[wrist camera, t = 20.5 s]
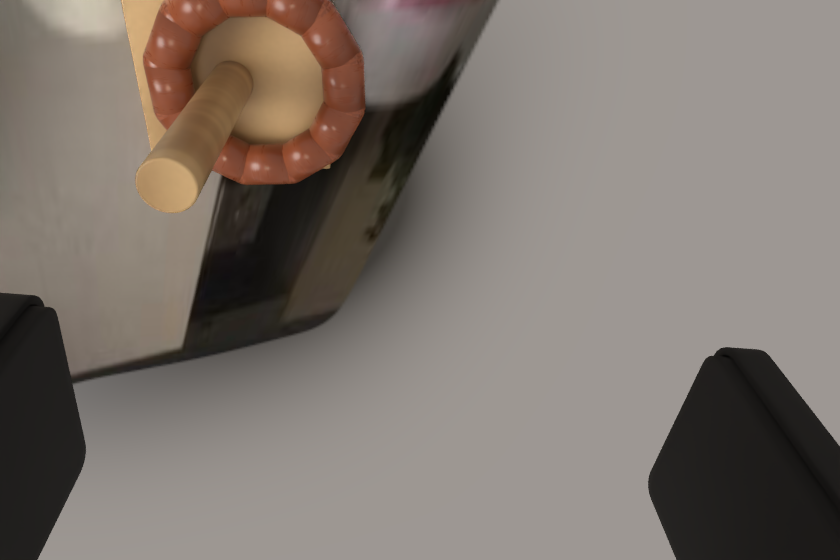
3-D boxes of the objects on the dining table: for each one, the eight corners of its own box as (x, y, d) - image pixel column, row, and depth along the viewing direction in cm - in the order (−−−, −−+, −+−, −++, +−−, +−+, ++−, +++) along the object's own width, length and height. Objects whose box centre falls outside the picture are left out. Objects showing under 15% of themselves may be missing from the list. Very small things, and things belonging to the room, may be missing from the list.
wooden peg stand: (323, -22, 30) (296, 46, 19) (331, 160, 35) (313, 298, 24) (124, -28, 29) (-26, 40, 18) (160, 159, 34) (60, 300, 23)
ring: (360, -37, 29) (359, -30, 27) (368, 172, 34) (368, 188, 32) (130, -36, 28) (115, -30, 26) (176, 176, 33) (165, 193, 32)
